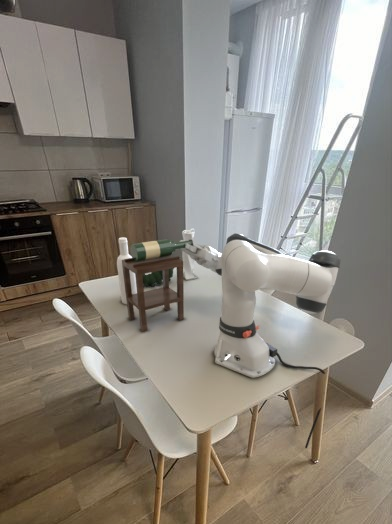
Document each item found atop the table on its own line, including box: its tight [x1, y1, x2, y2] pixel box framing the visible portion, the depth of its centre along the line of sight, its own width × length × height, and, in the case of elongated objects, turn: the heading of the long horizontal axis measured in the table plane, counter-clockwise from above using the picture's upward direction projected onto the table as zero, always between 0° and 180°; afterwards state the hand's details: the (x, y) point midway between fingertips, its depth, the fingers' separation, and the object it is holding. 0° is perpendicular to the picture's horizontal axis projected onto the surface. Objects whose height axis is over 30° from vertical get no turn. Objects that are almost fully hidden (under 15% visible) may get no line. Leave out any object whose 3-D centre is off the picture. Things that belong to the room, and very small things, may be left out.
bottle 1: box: [116, 236, 137, 305], centre depth 138 cm, size 8×8×30 cm
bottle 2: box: [129, 238, 195, 262], centre depth 118 cm, size 6×26×6 cm, turn 125°
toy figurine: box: [142, 268, 175, 288], centre depth 161 cm, size 9×19×25 cm
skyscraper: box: [181, 228, 198, 281], centre depth 167 cm, size 8×8×28 cm
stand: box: [122, 254, 185, 333], centre depth 124 cm, size 14×20×27 cm
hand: (182, 243), depth 122 cm, fingers closed on bottle 2, 3 cm apart
